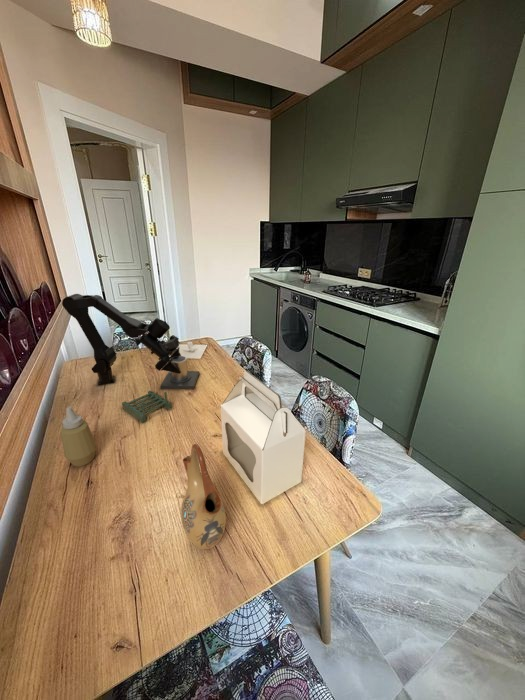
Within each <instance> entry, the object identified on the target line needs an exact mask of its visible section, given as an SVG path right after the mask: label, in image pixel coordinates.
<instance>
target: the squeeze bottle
mask: <svg viewBox="0 0 525 700" xmlns="http://www.w3.org/2000/svg"><path fill="white" fill-rule="evenodd" d="M65 411H66V413H65V414H66V415H65V418H63V420H62V421H61V423H62V427H61V428H60V437H61V443H62V450H63V455H64V458H65V459H66V460H67V461H68V462H69V463H70V464H71V465H72V466H73V467H83V466H86V465H88V464H90V463H91V462H92V461H93V460H94V459H95V456H96V451H97V442H96V440H95V438H94V435H93V433H92V430H91V428H90V425H89V423H88V422H87V420H84V419H83V417H82V415H80V414H76V412H75V411H74V409H73V407H72V406H68V407H66V408H65Z"/></svg>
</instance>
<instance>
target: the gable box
mask: <svg viewBox="0 0 525 700" xmlns="http://www.w3.org/2000/svg"><path fill="white" fill-rule="evenodd" d="M220 419H221V420H220V421H221V422H220V423H221V439H222V440H221V441H222V454H223V455H224V456H225V458H226V459H227V460H228V462H229V463H230V464H231V465H232V467H233V468H234V470H235V471H236V472H237V474H238V475H239V476H240V478H241V479H242V480H243V482H244V483H245V484H246V486H247V487H248V489H249V490H250V492H252V494H253V495H254V497H255V498H256V500H257V501H258V502H259V503H260V505H263V504H265V503H267V502H269V501H271V500H273V499H274V498H276V497H278V496H279V495H282V493H285V492H286V491H288V490H290V489H292V488H294V487H295V486H297V485H298V484H301V483H302V478H303V467H304V457H305V455H304V454H305V443H306V433H307V429H305V428H304V427H303V425H302V424H301V423H300V421H299V420H298V419H297V417H296V416H295V415H294V414H293V413H292V411H291V409H289V408H288V407H285V406H282V398H281V395H280V394H279V393H277V391H275V390H273V389H272V388H271V387H269V386H268V385H267V384H266V383H264V382H263V381H261V380H260V379H259V378H257V377H256V376H255V375H253V374H252V372H249V370H245V371H244V372H243V376H242V375H239V380H238V381H237V382H236V383H235V385H234V386H233V387H232V389H231V390H230V391H229V393H228V394H227V396H226V398H225V399H224V401H223V402H222V403H221V404H220ZM284 434H285V435H284Z"/></svg>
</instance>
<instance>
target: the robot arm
mask: <svg viewBox="0 0 525 700" xmlns="http://www.w3.org/2000/svg"><path fill="white" fill-rule="evenodd" d="M61 305H62V307H63V309H64V310H65V311H66V312H67V314H69V315H70V316H71V317H73V318H74V319H75V321H77V323H78V325H79V327H80V329H81V330H82V332H83V334H84V336H85V337H86V339H87V341H88V343H89V344H90V346H91V348H92V349H93V358H94V361H95V364H94V365H93V366H92V367H91V371H92V373H94V374H97V385H98V386H105V385H108V384H113V383H116V381H115V375H114V374H113V370H112V366H113V365H114V364H115V362H116V361H117V359H118V357H117V355H118V353H117V352H116V351H115V349H114V347H113V346H108V345H106V343H105V342H104V340H103V338H102V336H101V334H100V333H99V330H98V328H97V327H96V325H95V324H94V322H93V321H94V320H92V318H91V316H90V314H89V308H94V309H95V310H97V311H99V312H100V313H102V314H103V315H104V316H106V317H107V318H108V319H110V320H111V321H113V322H114V323H116V324H117V325H118V326H119V327H120V328H121V330H122V331H123V332H124V334H125V335H127V336H128V337H129V338H131V339H135V341H136V343H135V344H136V347H138V346H139V345H140V344H142V345H143V346H144V347H146V348H147V349H148V350H149V351H150V354H151V355H155V356H156V357H158V360H157V362H156V364H154V366H155V369H156V370H157V372H160V371H166V372H169V371H170V372H174V373H178V374H180V373H181V371H180V370H179V369H178V368H177V367H176V366H175V365H174V364H173V362H172V359H171V358H172V357H175V356H181V354H180V353H179V348H178V346H179V344H181V342H180V341H179V337H177V336H176V335H174V334H172V335H170V337H169V339H168V340H167V341H165V340H163V339H162V340H160V339H161V338H163V337H164V335H166V333H167V332H168V331H169V330H170V329H171V327H170V324H168V322H167V321H164V320H163V319H159V317H156V318H155V319H154V320H153V321H152V323H144V322H142V321H140V320H138V319H136V318H134V317H131V316H128V315H126V314H125V313H123V312H122V311H121V310H119V309H118V308H116V307H115V306H114V305H113V304H111V303H110V302H108V301H107V300H106V299H104V298H103V297H102V296H101V295H99V294H94V295H93V294H84V295H82V294H80V293H74V294H71V295H67V296H65V297H64V298H62V302H61ZM177 348H178V349H177ZM170 355H171V356H170ZM169 356H170V357H169ZM170 359H171V360H170Z"/></svg>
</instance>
